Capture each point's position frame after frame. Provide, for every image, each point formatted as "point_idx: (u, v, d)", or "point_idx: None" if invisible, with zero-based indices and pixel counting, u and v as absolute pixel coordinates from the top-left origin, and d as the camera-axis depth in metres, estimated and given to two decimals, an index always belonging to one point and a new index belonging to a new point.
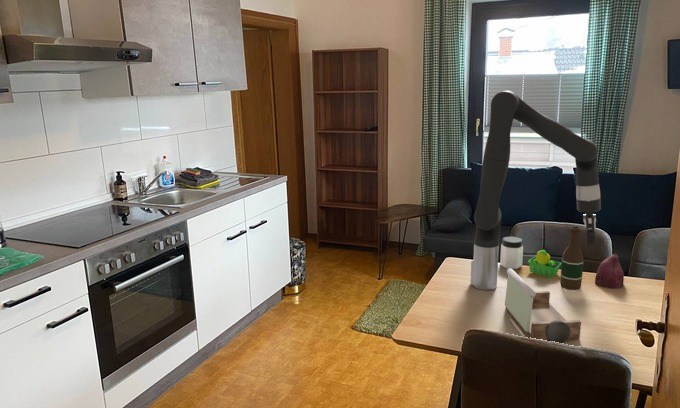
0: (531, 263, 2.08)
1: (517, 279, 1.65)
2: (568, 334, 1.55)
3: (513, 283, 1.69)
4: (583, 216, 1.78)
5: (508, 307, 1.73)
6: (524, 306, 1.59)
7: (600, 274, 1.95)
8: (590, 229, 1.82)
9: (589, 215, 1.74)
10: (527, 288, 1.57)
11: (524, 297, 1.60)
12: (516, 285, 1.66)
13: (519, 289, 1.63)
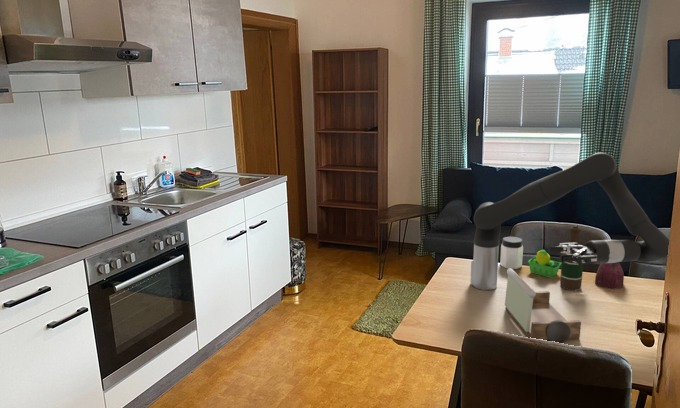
0: (531, 263, 2.08)
1: (517, 279, 1.65)
2: (568, 334, 1.55)
3: (513, 283, 1.69)
4: (582, 246, 1.63)
5: (508, 307, 1.73)
6: (524, 306, 1.59)
7: (600, 274, 1.95)
8: (559, 250, 1.66)
9: None
10: (527, 288, 1.57)
11: (524, 297, 1.60)
12: (516, 285, 1.66)
13: (519, 289, 1.63)
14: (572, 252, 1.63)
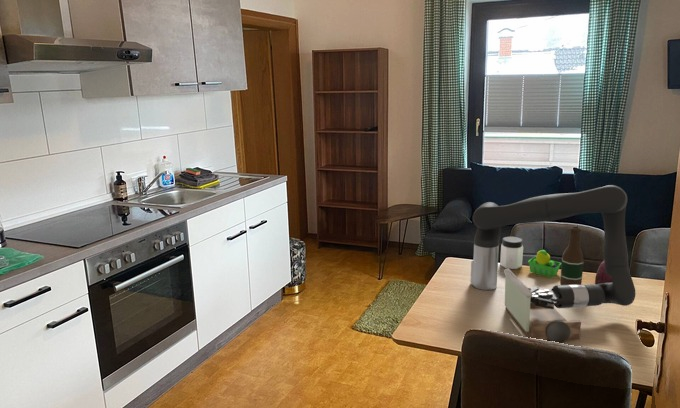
0: (531, 263, 2.08)
1: (514, 279, 1.65)
2: (568, 334, 1.55)
3: (511, 283, 1.69)
4: (549, 290, 1.66)
5: (508, 307, 1.73)
6: (522, 306, 1.59)
7: (600, 274, 1.95)
8: None
9: (558, 301, 1.62)
10: (524, 288, 1.57)
11: (522, 297, 1.60)
12: (513, 285, 1.66)
13: (517, 289, 1.63)
14: (543, 298, 1.65)
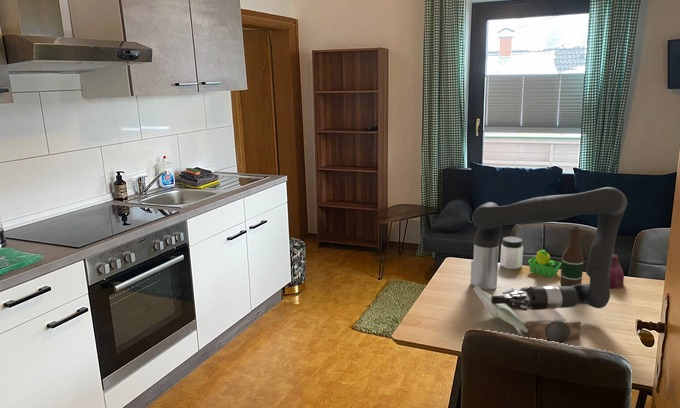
0: (531, 263, 2.08)
1: (481, 300, 1.66)
2: (568, 334, 1.55)
3: None
4: (523, 292, 1.66)
5: None
6: None
7: None
8: None
9: (531, 303, 1.62)
10: (488, 310, 1.59)
11: None
12: None
13: None
14: None
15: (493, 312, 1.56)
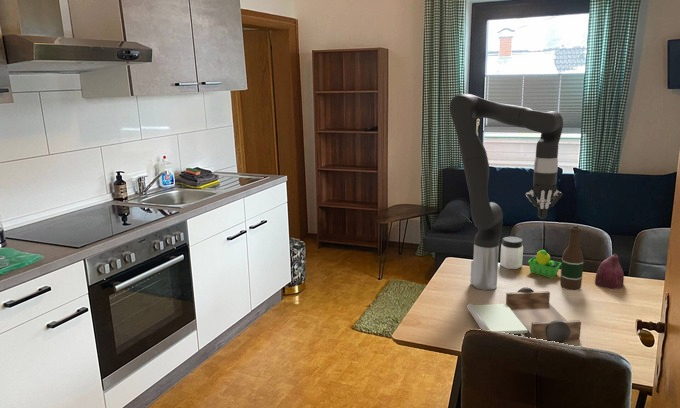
0: (531, 263, 2.08)
1: None
2: (568, 334, 1.55)
3: None
4: None
5: None
6: None
7: (600, 274, 1.95)
8: None
9: (533, 186, 1.75)
10: None
11: None
12: None
13: None
14: None
15: None
